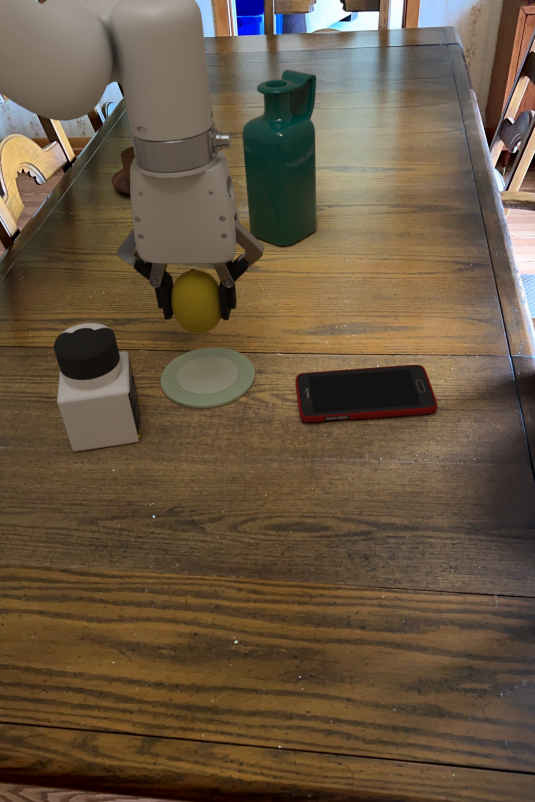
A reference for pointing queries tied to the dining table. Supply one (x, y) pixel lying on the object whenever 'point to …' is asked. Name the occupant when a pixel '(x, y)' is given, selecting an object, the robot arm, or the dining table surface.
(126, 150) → the cup and saucer
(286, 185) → the pitcher
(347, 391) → the cell phone
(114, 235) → the dining table surface
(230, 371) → the saucer
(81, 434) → the medicine bottle
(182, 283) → the lemon
